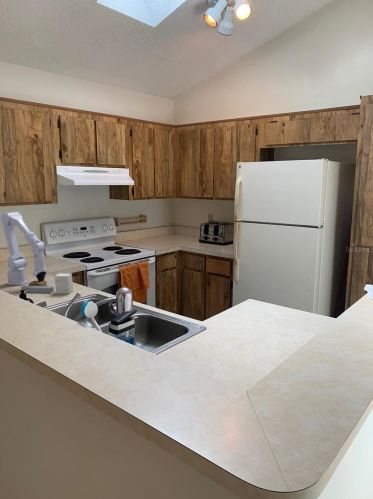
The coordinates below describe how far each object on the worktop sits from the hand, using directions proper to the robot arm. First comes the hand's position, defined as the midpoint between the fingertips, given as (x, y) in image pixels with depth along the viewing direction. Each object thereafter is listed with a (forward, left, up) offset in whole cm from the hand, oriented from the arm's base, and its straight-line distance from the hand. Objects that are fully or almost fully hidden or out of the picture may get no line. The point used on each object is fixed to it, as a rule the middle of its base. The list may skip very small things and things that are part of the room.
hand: (41, 284), depth 228 cm
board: (+3, -11, -1) cm, 11 cm away
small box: (+19, -10, -2) cm, 22 cm away
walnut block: (0, -4, -2) cm, 5 cm away
